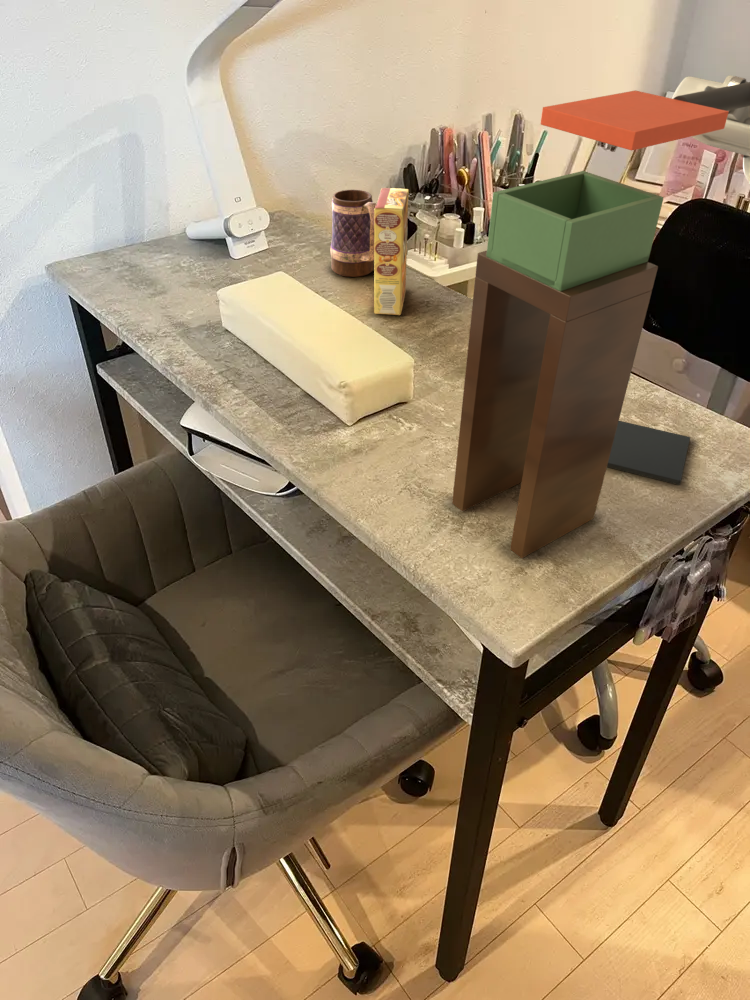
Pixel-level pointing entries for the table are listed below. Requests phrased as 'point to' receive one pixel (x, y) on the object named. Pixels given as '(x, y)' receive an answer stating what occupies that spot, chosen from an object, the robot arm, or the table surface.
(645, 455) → the mat
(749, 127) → the robot arm
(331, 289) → the table surface
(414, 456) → the table surface
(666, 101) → the red square paddle
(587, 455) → the stand
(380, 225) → the candy box
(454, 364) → the table surface
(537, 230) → the green open box
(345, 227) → the mug
